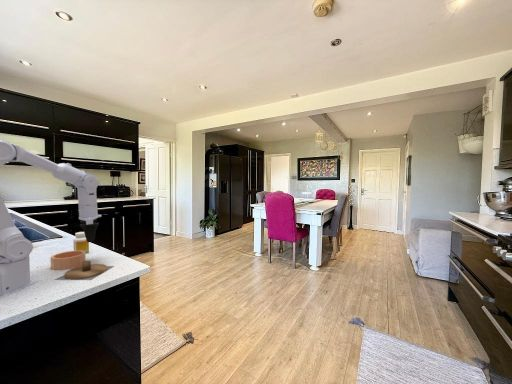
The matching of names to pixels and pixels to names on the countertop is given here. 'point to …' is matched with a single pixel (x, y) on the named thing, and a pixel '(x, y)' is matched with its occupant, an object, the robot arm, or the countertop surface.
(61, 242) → the countertop surface
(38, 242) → the countertop surface
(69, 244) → the countertop surface
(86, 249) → the supplement bottle
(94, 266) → the lid
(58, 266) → the bowl
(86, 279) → the mat
